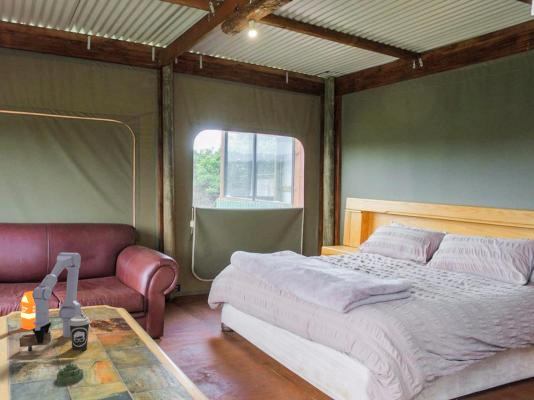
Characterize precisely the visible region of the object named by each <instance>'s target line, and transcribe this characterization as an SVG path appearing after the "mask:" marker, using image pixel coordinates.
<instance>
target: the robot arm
mask: <svg viewBox="0 0 534 400" xmlns="http://www.w3.org/2000/svg"><path fill="white" fill-rule="evenodd" d="M81 259H82V256H81V254H80V253H78V252H59V253H58V255H57V256H56V263H55V265H54V267H53V268H52V270H51V272H50V274H46V276H45V277H44V278H43V280H42V281H41V283H40V284H39V286H37V287H35V288H33V290H32V291H33V294H32V297H33V299H34V303H35V321H34V322H33V324H35V328H34V329H32V332H33V334H35V336H36V339H37V342H38V343H43V340H44V334H45V333H48V332H50V331H49V330H50V328H51V326H52V322H50V313H49V312H50V308H49V306H50V305H49V304H50V303H49V302H50V301H49V299H50V298H51V297H52V293H53V288H54V287H55V286H56V284H57V283H58V277H59V275H60V274H61V273H62V272H63V270H64V269H66V270H67V275H66V277H67V278H66V287H65V288H66V291H65V301H63V302H62V303H61V304H60V308H59V310H58V317H59V318H60V319H61V320H60V321H61V322H62V337H64V338H71V332H70V325H69V322H70V320H71V319H72V318H74V317H80V316H82V309H81V308H82V307H81V306H82V305H81V303H80V302H78V300H77V295H78V285H79V283H78V281H79V273H80V272H79V269H80V268H81V263H82V262H81Z"/></svg>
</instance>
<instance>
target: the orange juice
mask: <svg viewBox="0 0 534 400" xmlns="http://www.w3.org/2000/svg"><path fill="white" fill-rule="evenodd" d="M32 294H33V290H29V291H25V292H24V294H23V296H22V298H21V301H20V323H21V324H20V325H21V326H20V328H21V329H25V330H33V329H34V328H35V324H33V322H34V321H35V303H34V299H33V297H32Z"/></svg>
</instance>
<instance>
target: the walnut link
mask: <svg viewBox="0 0 534 400" xmlns="http://www.w3.org/2000/svg"><path fill="white" fill-rule="evenodd" d="M51 338H52V337H51V332H50V331H48V333H45V334H44V340H43V343H38V342H37V339H36V336H35V334H34V333H29V334H22V335H21V336H20V338H18V340H19V348H25V347H26V346H36V345H47V344H48V343H49V342H50V341H51V340H52V339H51Z"/></svg>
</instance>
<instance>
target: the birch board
mask: <svg viewBox="0 0 534 400" xmlns="http://www.w3.org/2000/svg"><path fill="white" fill-rule="evenodd" d="M58 341H59V339H51V341H50V342H49V343H48V344H47V345H36V346H32V351H28V346H26V347H23V349H21V350H20V352H19V353H18V354H17V355H16V356H17V357H19V356H21V357H22V356H38V355H40V356H41V355H42V356H43V355H47V354H48V353H49V352H50V351H51V350H52V349H53V347H54V346H55V345H56V343H57V342H58Z"/></svg>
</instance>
